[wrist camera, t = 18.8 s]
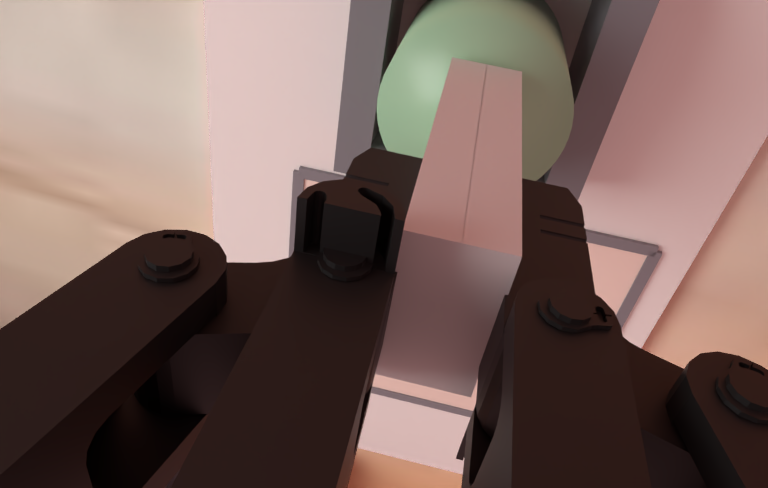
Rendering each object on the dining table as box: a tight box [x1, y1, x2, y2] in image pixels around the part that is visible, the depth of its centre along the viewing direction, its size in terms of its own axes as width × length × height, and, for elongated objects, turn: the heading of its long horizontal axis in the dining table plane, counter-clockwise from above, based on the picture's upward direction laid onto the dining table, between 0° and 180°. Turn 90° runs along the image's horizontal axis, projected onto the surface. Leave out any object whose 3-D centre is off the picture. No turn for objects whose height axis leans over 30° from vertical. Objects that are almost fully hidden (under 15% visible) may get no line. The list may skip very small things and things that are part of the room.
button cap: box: [377, 0, 574, 181], centre depth 15 cm, size 4×4×4 cm
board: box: [203, 0, 768, 474], centre depth 22 cm, size 24×17×1 cm
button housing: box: [333, 0, 660, 201], centre depth 16 cm, size 7×7×2 cm
